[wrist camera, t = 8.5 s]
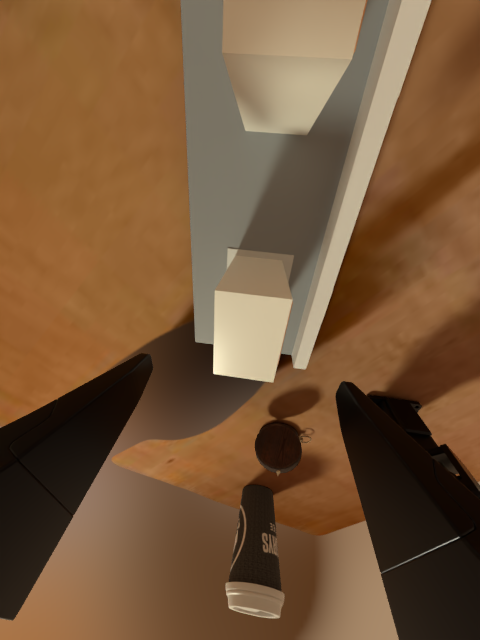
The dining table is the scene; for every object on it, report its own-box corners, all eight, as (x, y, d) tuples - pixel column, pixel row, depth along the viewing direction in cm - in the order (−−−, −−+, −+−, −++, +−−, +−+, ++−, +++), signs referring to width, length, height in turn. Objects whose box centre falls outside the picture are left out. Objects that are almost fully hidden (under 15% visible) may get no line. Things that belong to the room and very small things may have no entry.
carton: (285, 260, 17) (297, 300, 10) (273, 321, 20) (276, 383, 13) (235, 255, 17) (214, 290, 10) (231, 315, 20) (213, 373, 13)
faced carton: (342, -27, 10) (515, -553, 3) (310, 135, 13) (360, 59, 6) (256, -29, 10) (234, -516, 3) (245, 130, 13) (222, 52, 6)
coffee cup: (262, 504, 47) (261, 618, 34) (227, 490, 45) (212, 605, 32) (289, 493, 42) (299, 620, 29) (251, 476, 40) (245, 604, 28)
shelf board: (301, 348, 23) (307, 369, 20) (199, 334, 24) (189, 353, 21) (426, -65, 10) (496, -182, 7) (187, -69, 11) (155, -175, 8)
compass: (261, 443, 34) (260, 497, 28) (255, 414, 31) (253, 469, 24) (310, 445, 33) (320, 502, 27) (310, 414, 29) (322, 472, 23)
